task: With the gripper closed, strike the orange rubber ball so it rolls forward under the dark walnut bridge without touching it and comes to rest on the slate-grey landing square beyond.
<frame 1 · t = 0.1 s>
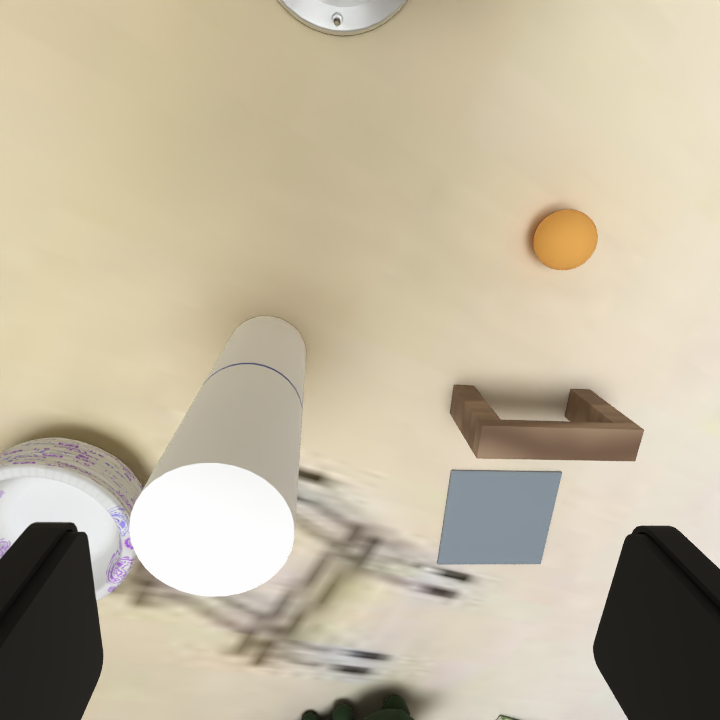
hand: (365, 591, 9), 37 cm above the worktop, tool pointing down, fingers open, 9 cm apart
paper bowls: (81, 489, 49), on the worktop
cylindrical container: (267, 352, 45), on the worktop
bridge: (520, 401, 49), on the worktop
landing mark: (497, 518, 54), on the worktop
ball: (564, 240, 41), on the worktop
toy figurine: (344, 715, 62), on the worktop
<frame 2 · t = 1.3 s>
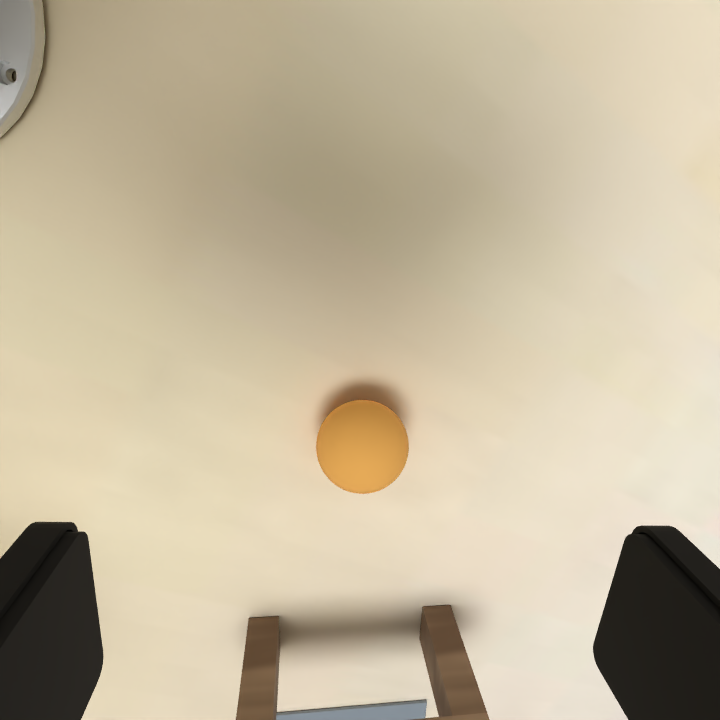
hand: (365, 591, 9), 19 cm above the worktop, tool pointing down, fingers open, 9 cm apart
bridge: (351, 627, 34), on the worktop
ball: (362, 445, 27), on the worktop
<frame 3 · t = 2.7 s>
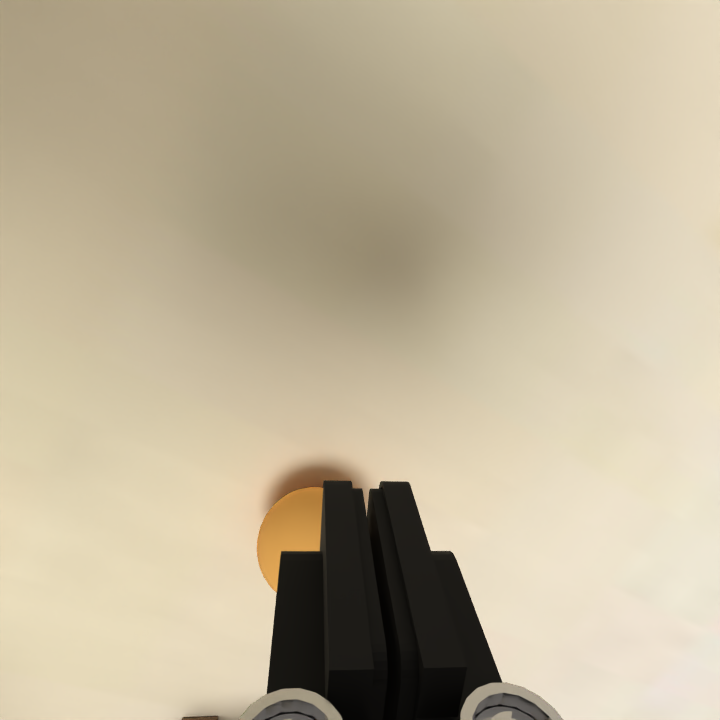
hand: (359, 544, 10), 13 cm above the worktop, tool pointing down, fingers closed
ball: (313, 543, 22), on the worktop
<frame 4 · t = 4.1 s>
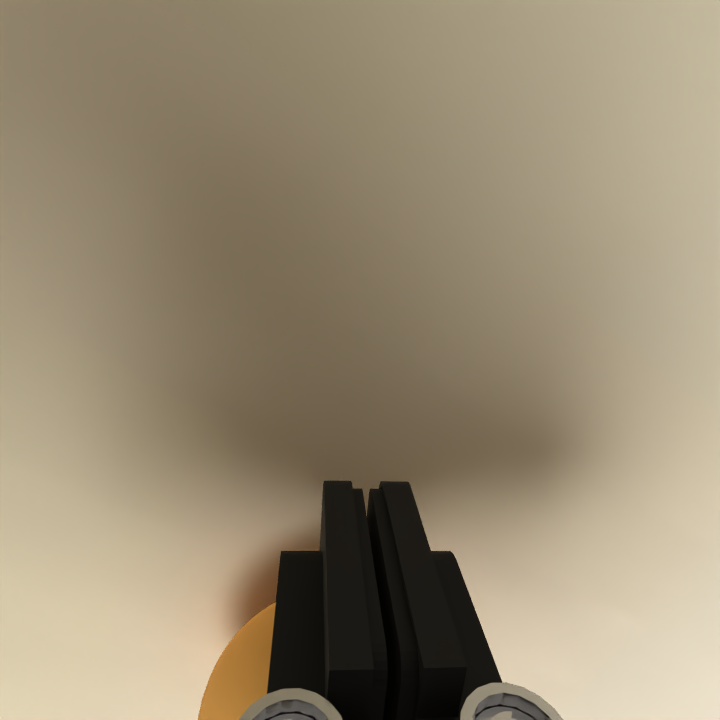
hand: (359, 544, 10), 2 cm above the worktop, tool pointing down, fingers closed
ball: (319, 719, 10), on the worktop
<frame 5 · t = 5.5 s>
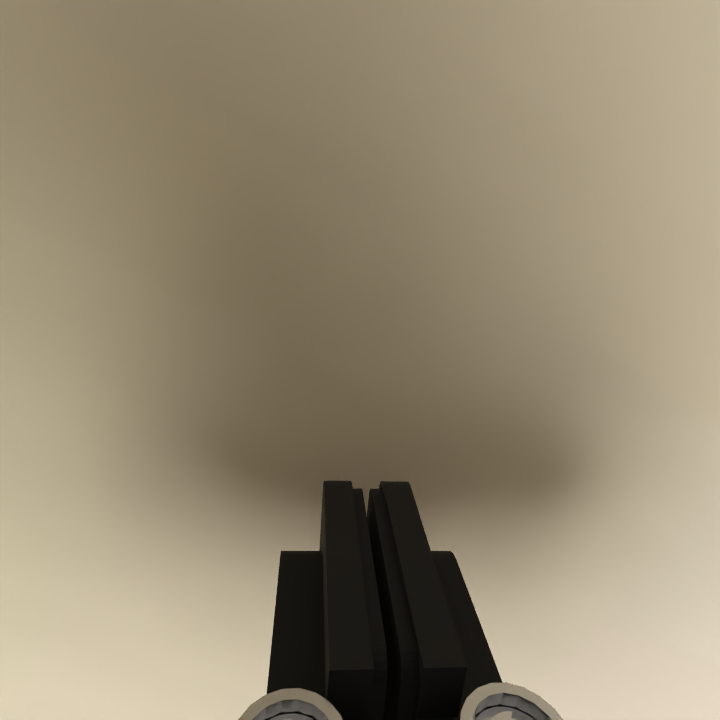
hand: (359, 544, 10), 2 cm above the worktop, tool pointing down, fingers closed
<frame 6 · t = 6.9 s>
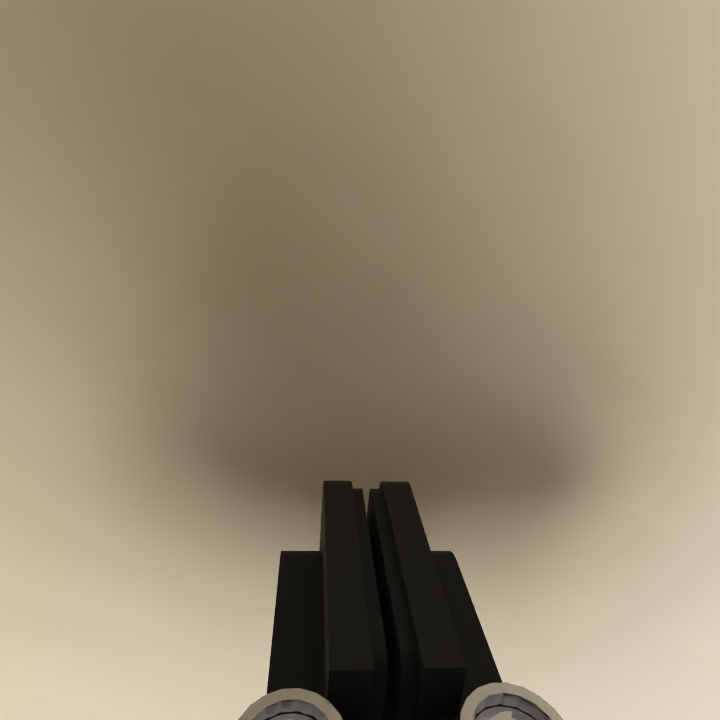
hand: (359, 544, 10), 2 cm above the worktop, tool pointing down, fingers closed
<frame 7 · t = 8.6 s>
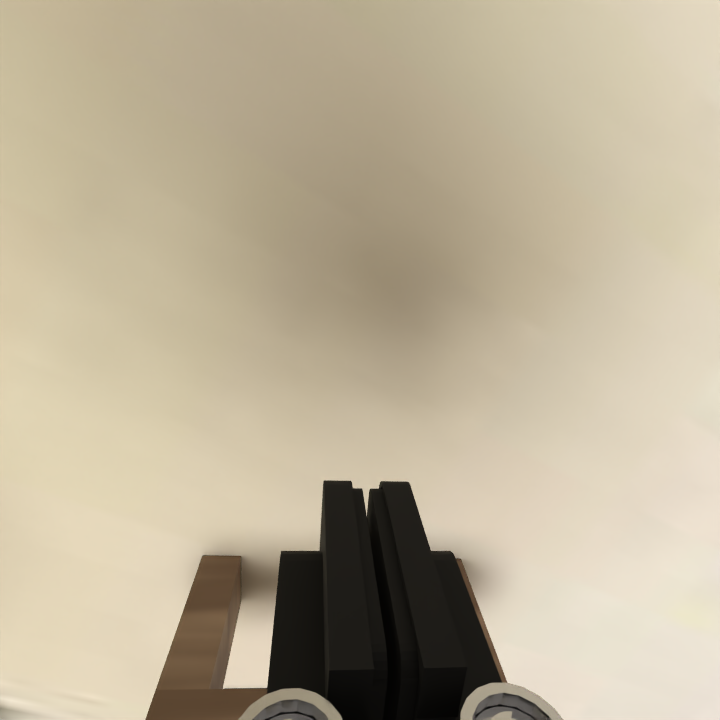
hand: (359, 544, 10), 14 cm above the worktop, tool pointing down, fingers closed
bridge: (333, 580, 27), on the worktop
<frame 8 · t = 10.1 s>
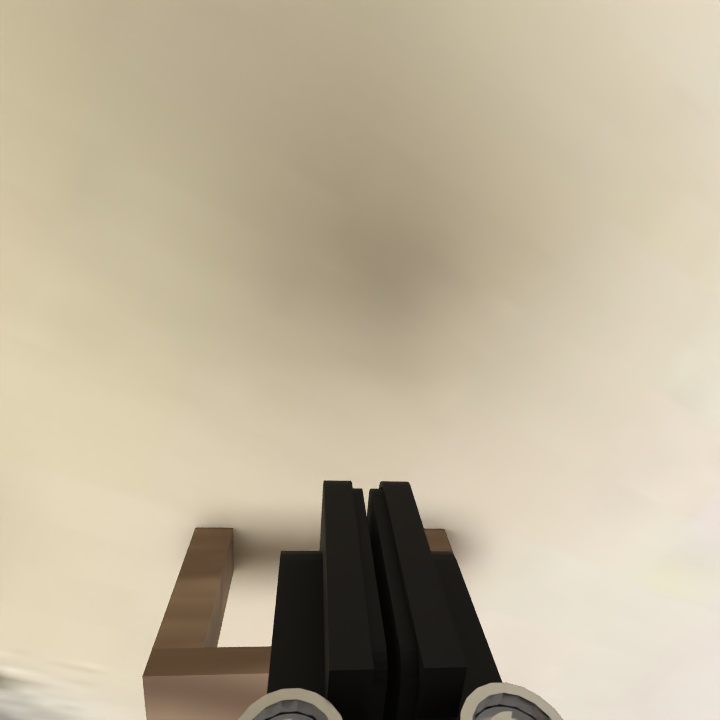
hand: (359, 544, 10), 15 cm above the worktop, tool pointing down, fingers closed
bridge: (321, 550, 28), on the worktop
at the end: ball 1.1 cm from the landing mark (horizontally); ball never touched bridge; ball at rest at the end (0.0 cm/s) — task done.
